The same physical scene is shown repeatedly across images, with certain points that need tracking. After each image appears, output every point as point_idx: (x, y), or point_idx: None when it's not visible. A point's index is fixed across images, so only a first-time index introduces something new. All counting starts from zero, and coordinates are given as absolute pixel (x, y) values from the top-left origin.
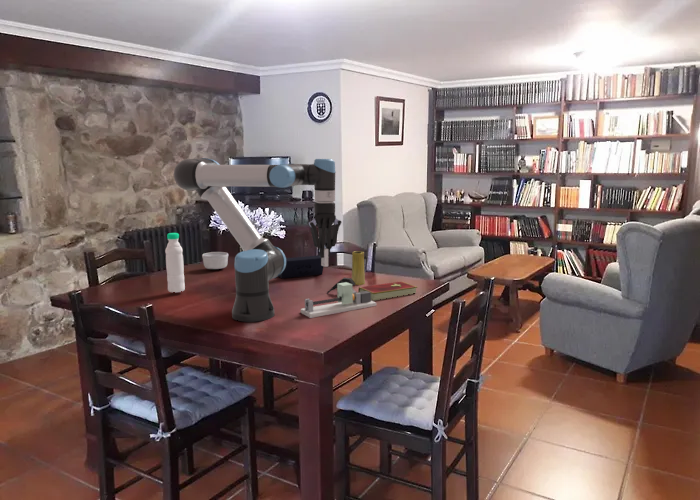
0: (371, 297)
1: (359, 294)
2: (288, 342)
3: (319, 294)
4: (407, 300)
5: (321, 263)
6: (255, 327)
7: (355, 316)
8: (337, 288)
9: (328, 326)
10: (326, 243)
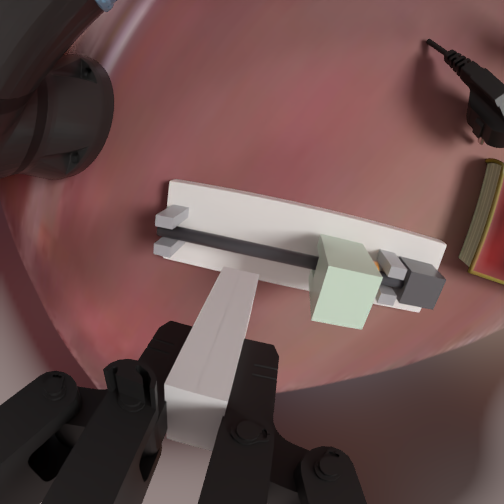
0: (469, 245)
1: (387, 302)
2: (71, 338)
3: (394, 27)
4: (500, 314)
5: (219, 276)
6: (40, 217)
7: (288, 333)
8: (325, 256)
9: None
10: (224, 479)
